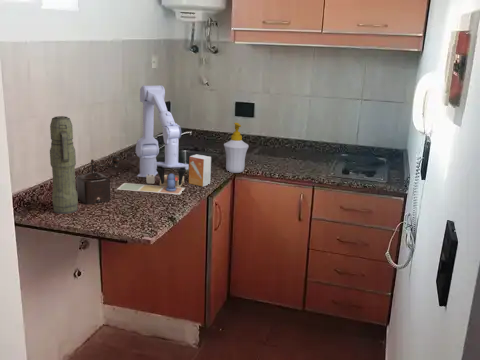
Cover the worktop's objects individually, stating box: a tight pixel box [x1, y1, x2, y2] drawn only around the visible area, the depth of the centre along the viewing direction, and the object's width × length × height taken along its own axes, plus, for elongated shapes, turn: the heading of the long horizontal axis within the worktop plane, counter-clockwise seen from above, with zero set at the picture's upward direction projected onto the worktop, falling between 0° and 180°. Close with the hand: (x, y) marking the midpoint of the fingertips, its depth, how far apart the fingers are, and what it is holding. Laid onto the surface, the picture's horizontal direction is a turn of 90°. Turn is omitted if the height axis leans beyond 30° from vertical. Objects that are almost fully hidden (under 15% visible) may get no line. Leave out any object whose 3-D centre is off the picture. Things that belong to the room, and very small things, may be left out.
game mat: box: [116, 182, 186, 196], centre depth 214 cm, size 10×28×1 cm, turn 84°
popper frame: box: [159, 174, 185, 188], centre depth 222 cm, size 9×9×3 cm
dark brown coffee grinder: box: [75, 155, 122, 206], centre depth 196 cm, size 16×11×18 cm
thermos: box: [49, 115, 79, 215], centre depth 179 cm, size 9×12×35 cm
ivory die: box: [145, 174, 156, 185], centre depth 223 cm, size 4×4×4 cm
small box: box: [188, 153, 212, 188], centre depth 224 cm, size 8×6×13 cm
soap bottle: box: [223, 122, 249, 174], centre depth 247 cm, size 13×13×25 cm
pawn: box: [166, 173, 176, 192], centre depth 212 cm, size 4×4×8 cm
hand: (171, 184), depth 213 cm, fingers open, 7 cm apart
